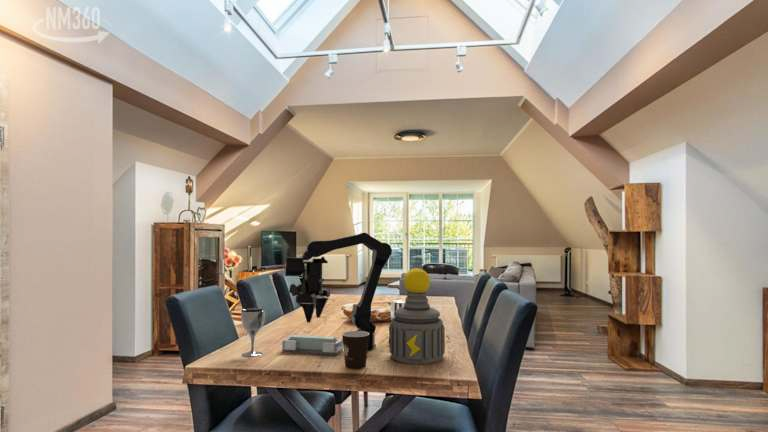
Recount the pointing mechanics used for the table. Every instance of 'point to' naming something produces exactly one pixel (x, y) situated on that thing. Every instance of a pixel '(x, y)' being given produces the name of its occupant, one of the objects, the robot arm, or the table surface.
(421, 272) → the decorative lamp
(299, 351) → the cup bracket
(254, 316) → the wine glass
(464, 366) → the table surface
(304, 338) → the rail
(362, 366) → the coffee mug
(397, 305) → the beer glass
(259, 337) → the table surface
